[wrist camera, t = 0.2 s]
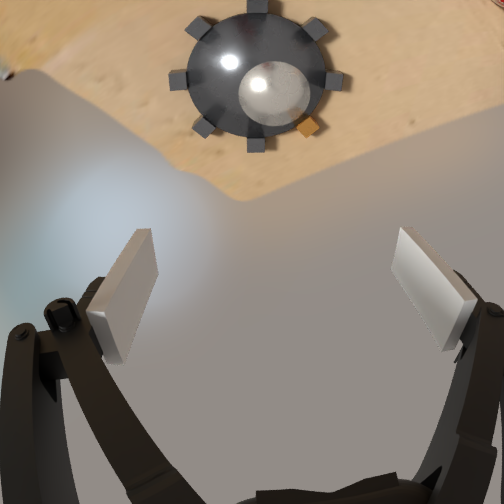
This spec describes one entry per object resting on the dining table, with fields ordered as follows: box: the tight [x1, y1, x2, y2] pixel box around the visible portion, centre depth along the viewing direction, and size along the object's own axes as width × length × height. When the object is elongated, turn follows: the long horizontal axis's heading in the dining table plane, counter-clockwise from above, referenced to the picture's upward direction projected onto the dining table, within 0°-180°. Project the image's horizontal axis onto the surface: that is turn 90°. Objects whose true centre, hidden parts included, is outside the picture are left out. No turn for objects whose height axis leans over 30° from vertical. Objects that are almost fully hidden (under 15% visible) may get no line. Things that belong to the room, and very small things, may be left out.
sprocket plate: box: [169, 0, 343, 153], centre depth 33 cm, size 20×20×2 cm
